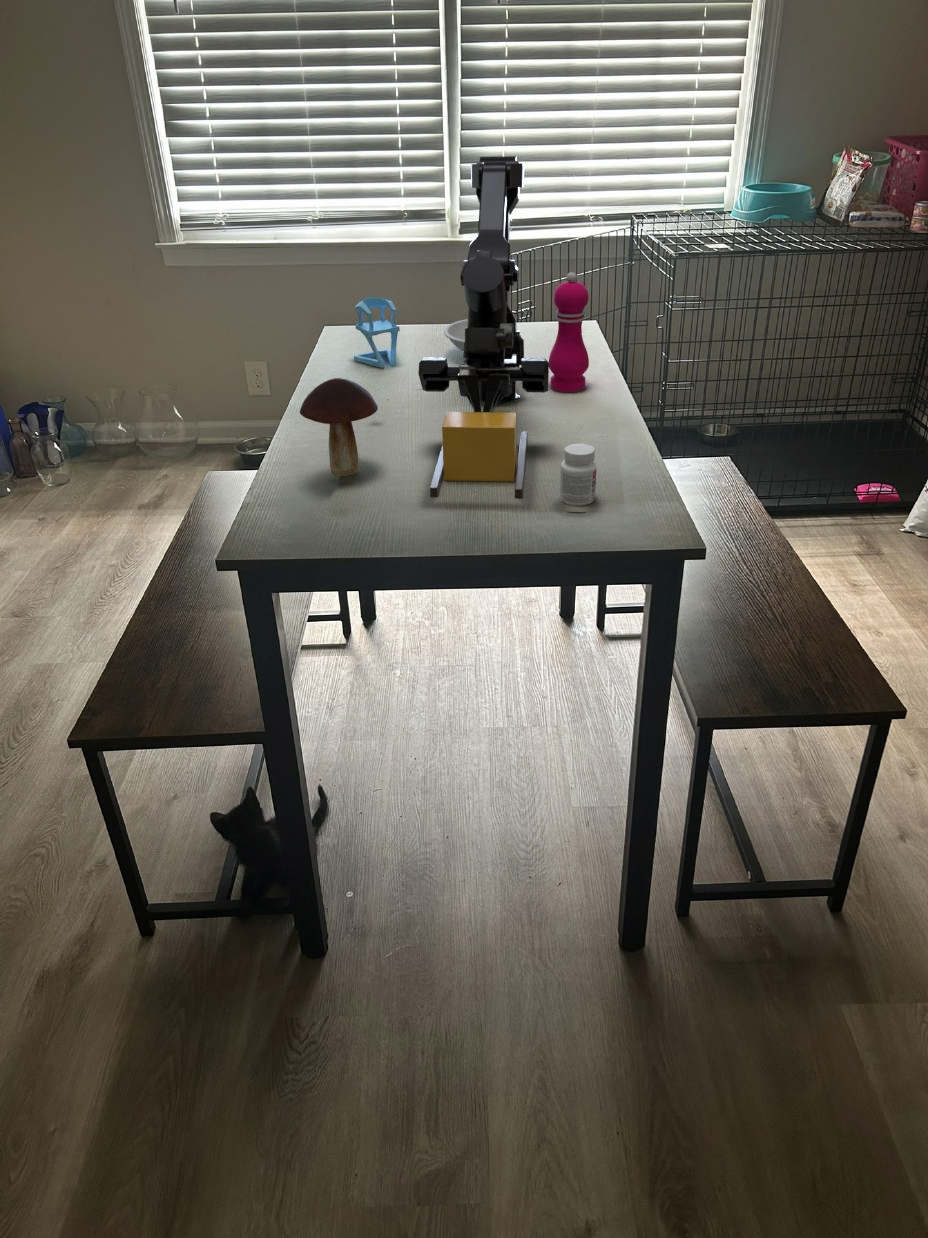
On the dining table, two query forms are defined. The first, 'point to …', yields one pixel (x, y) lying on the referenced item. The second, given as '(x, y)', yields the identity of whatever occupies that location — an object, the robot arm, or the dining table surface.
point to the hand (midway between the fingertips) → (481, 429)
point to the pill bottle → (578, 475)
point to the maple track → (519, 477)
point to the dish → (457, 333)
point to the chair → (377, 331)
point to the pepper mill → (569, 337)
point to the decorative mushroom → (340, 419)
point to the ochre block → (479, 446)
